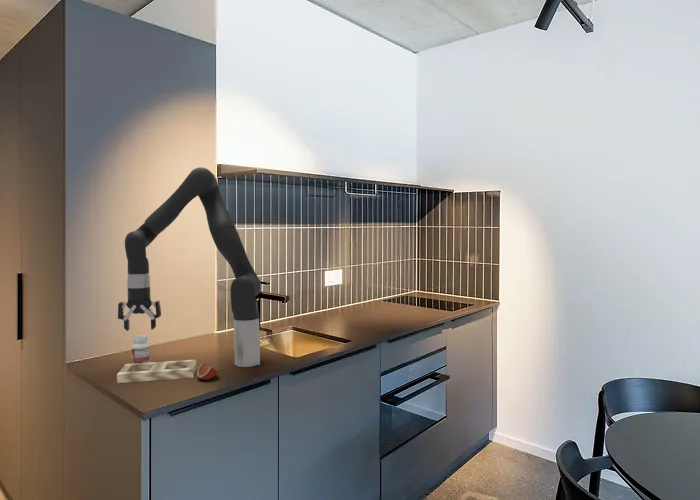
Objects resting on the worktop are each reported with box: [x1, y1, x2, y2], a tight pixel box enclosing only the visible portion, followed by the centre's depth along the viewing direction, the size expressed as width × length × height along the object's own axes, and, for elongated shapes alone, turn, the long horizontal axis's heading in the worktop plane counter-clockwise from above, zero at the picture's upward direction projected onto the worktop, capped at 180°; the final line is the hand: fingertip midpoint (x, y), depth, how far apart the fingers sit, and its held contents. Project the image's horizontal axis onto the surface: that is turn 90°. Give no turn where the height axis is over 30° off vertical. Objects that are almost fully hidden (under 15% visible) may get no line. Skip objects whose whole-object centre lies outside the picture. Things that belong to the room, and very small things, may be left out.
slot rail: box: [116, 359, 198, 384], centre depth 162 cm, size 24×11×3 cm, turn 102°
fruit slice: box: [196, 361, 219, 381], centre depth 159 cm, size 8×7×5 cm
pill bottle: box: [131, 335, 152, 364], centre depth 171 cm, size 6×6×11 cm
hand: (140, 329), depth 171 cm, fingers open, 8 cm apart
